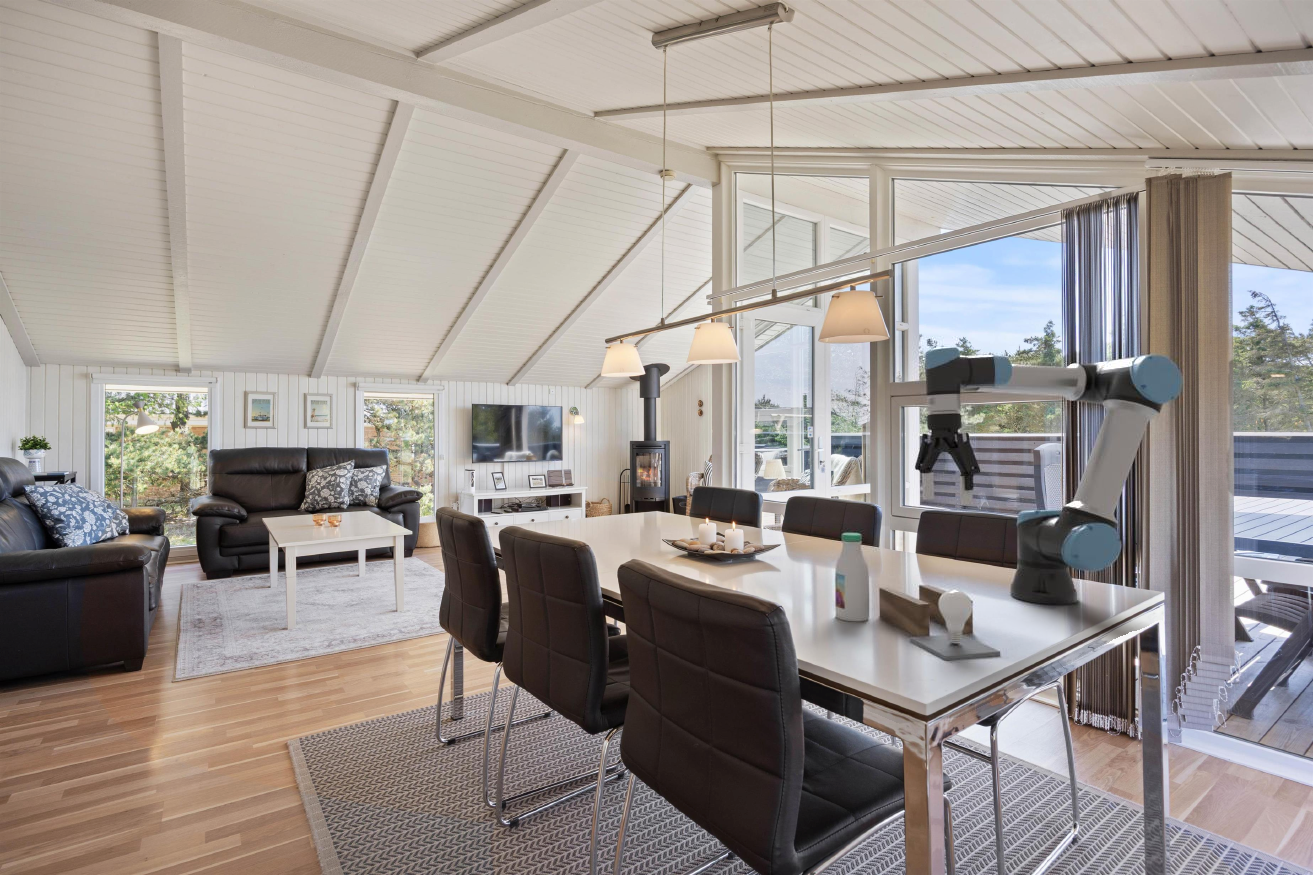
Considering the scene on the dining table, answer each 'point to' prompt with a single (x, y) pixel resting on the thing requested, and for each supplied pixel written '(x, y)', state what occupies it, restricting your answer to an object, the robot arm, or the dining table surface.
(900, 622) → the walnut slot
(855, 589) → the milk bottle
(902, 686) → the dining table surface
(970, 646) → the grey pad
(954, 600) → the lightbulb
